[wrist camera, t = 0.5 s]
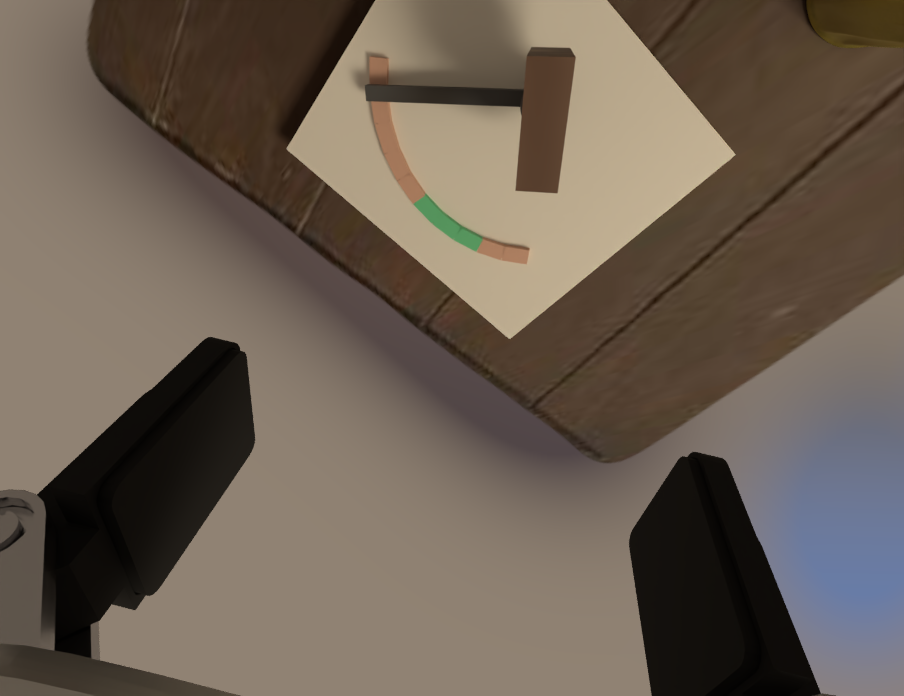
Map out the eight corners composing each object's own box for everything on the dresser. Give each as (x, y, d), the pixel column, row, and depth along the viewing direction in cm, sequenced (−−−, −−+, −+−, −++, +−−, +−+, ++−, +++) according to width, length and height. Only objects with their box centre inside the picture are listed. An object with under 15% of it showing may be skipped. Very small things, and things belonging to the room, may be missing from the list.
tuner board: (476, -153, 23) (471, -165, 22) (727, 148, 28) (737, 156, 27) (296, 143, 32) (283, 150, 31) (510, 328, 38) (509, 342, 36)
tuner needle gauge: (573, 44, 25) (584, 57, 18) (560, 145, 28) (564, 193, 21) (366, 40, 27) (296, 50, 19) (374, 137, 30) (315, 178, 22)
